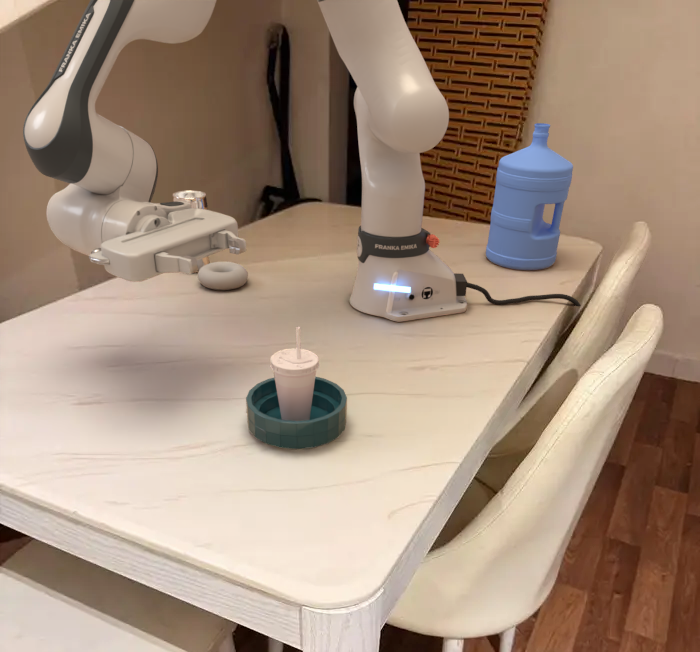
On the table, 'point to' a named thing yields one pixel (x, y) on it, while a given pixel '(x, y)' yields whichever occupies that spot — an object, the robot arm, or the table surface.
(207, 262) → the beer glass
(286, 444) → the bowl
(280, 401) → the smoothie
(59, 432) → the table surface
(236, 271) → the donut
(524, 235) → the water jug
